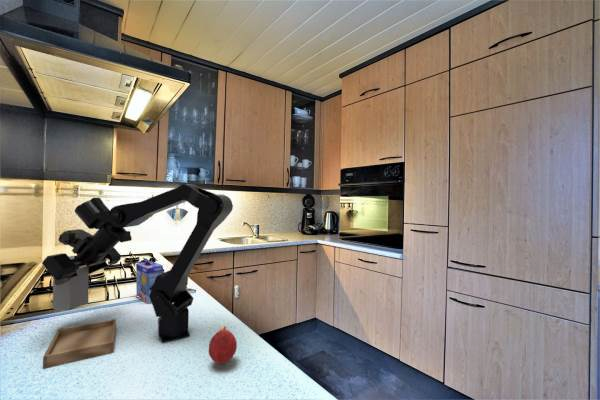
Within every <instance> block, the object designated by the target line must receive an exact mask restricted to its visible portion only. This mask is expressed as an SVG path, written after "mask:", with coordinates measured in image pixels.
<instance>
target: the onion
mask: <svg viewBox="0 0 600 400" xmlns="http://www.w3.org/2000/svg"><path fill="white" fill-rule="evenodd" d="M226 328H227V326H226V325H222V326H220V329H219V331H218V332H216V333H215V334H214V335H213V336H212V337H211V339H210V341H209V344H208V355H209V357H210V358H211V360H212V361H213V362H214V363H215V364H219V365H221V366H223V365H225V364H226V363H228V362H229V361H231V360H232V358H233V357H234V356H235V354H236V352H237V347H238V344H237V343H238V342H237V339H236V337H235V335H234V334H233V333H232V332H231V331H229V330H228V329H226Z"/></svg>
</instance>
